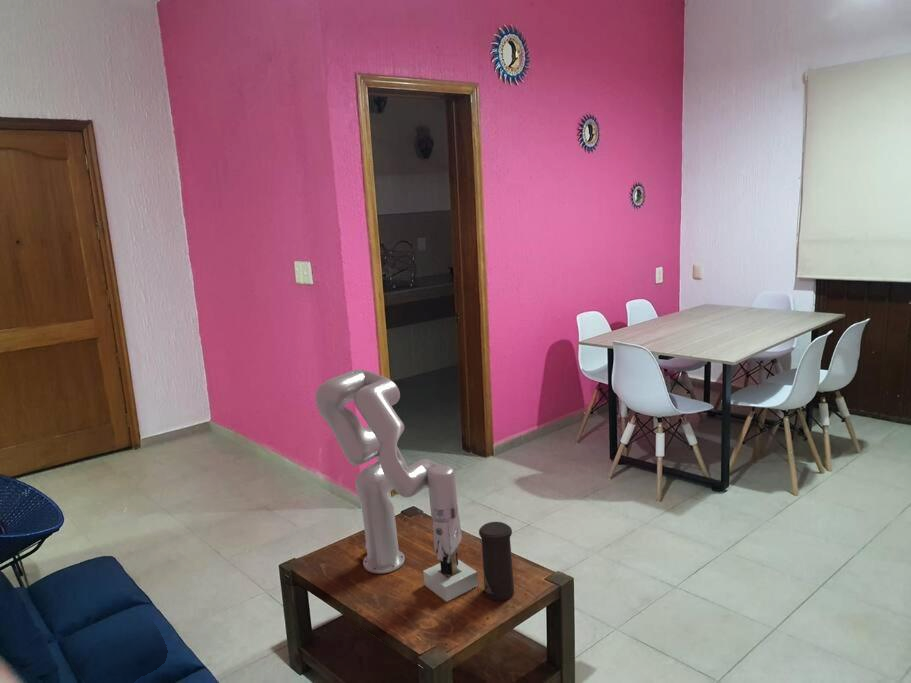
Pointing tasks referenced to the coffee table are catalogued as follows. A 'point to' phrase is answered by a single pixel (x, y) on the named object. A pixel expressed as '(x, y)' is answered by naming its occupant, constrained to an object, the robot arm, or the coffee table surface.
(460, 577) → the grey square socket block
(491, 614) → the coffee table surface
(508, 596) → the container
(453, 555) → the birch stick
